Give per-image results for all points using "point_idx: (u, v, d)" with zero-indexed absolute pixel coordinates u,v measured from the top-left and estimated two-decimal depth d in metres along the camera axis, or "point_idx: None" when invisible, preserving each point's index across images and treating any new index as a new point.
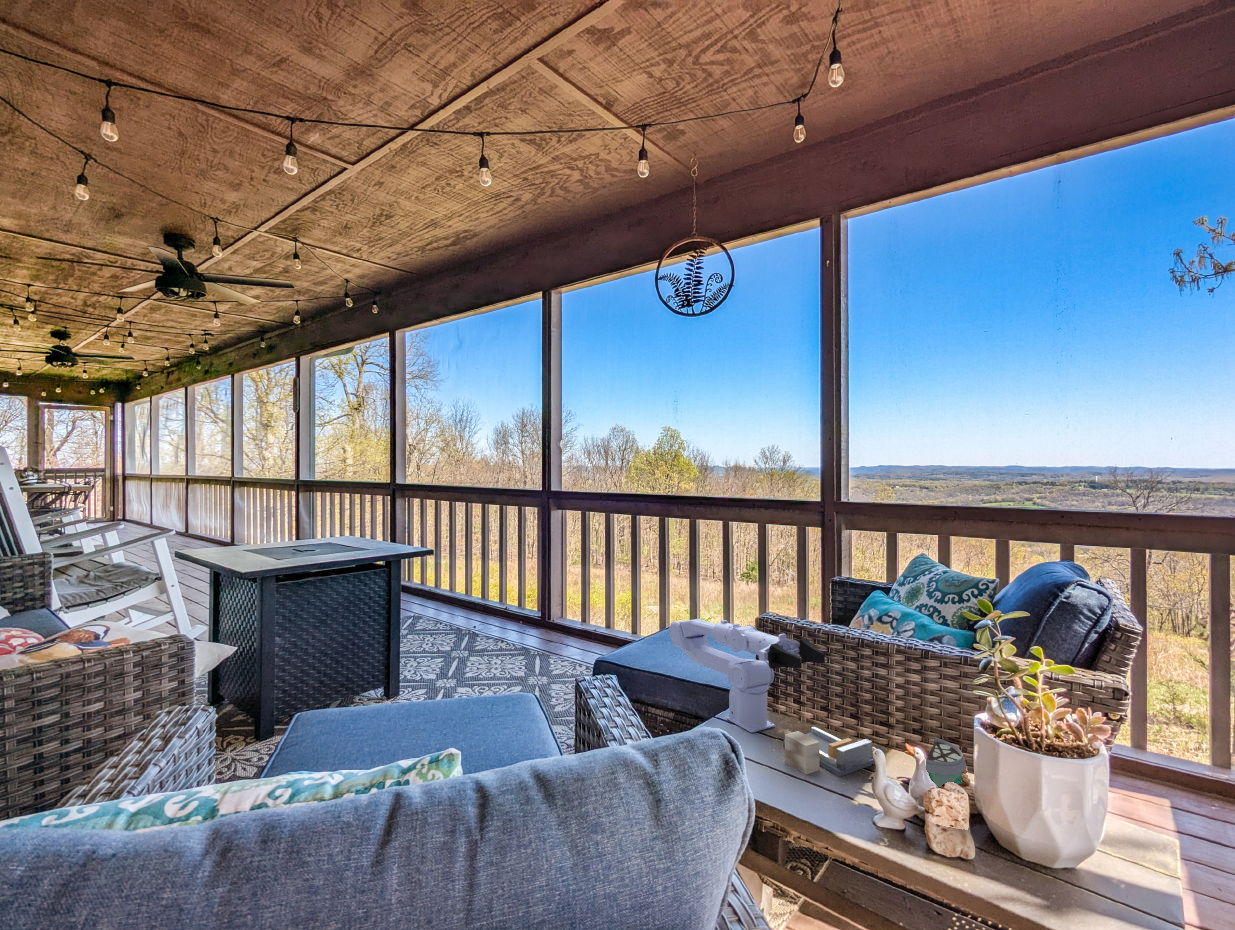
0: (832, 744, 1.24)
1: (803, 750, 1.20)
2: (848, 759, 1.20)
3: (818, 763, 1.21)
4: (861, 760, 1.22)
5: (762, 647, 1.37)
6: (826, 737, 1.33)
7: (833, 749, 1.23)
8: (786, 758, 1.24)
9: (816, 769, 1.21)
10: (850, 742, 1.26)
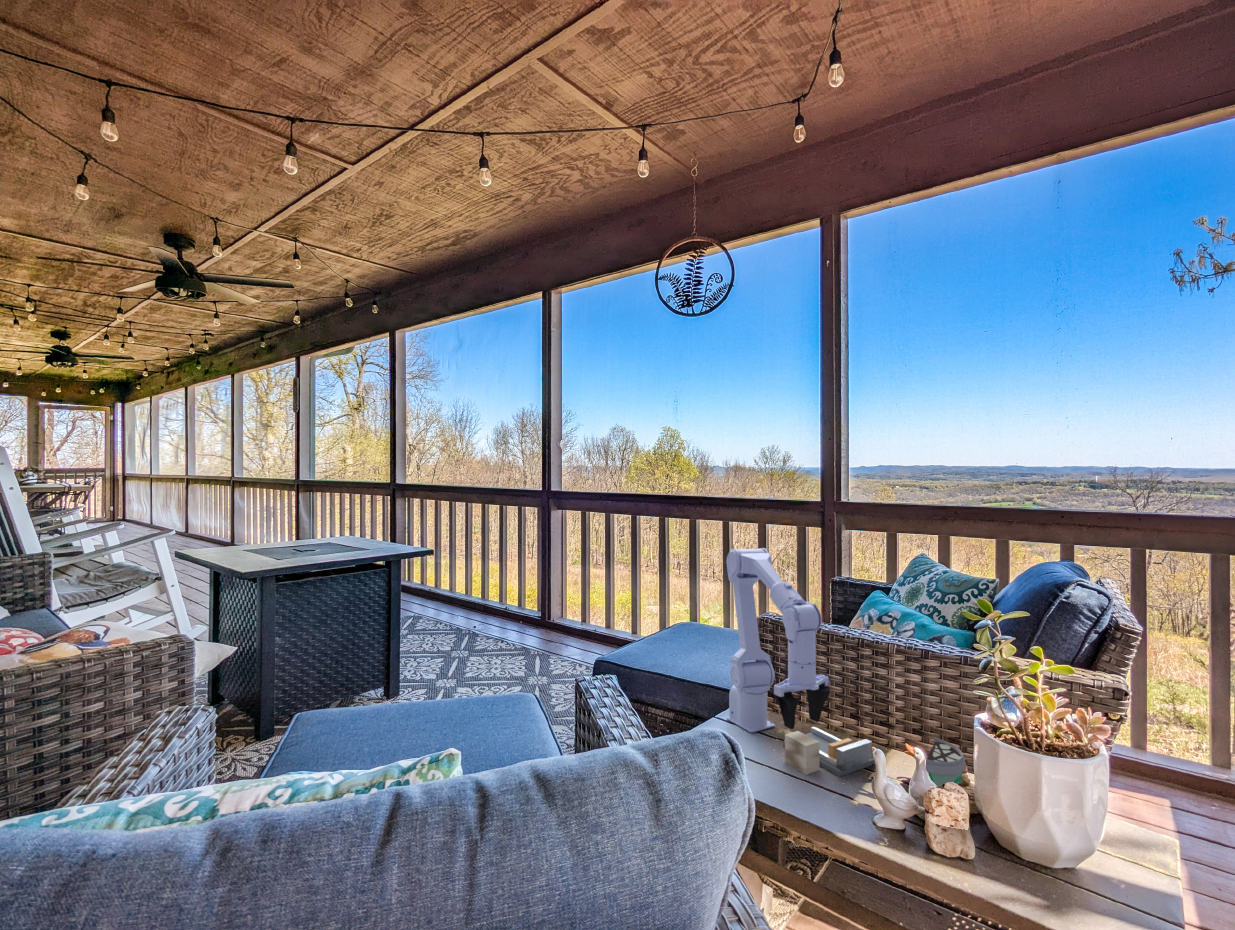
0: (832, 744, 1.24)
1: (803, 750, 1.20)
2: (848, 759, 1.20)
3: (818, 763, 1.21)
4: (861, 760, 1.22)
5: (793, 667, 1.22)
6: (826, 737, 1.33)
7: (833, 749, 1.23)
8: (786, 758, 1.24)
9: (816, 769, 1.21)
10: (850, 742, 1.26)
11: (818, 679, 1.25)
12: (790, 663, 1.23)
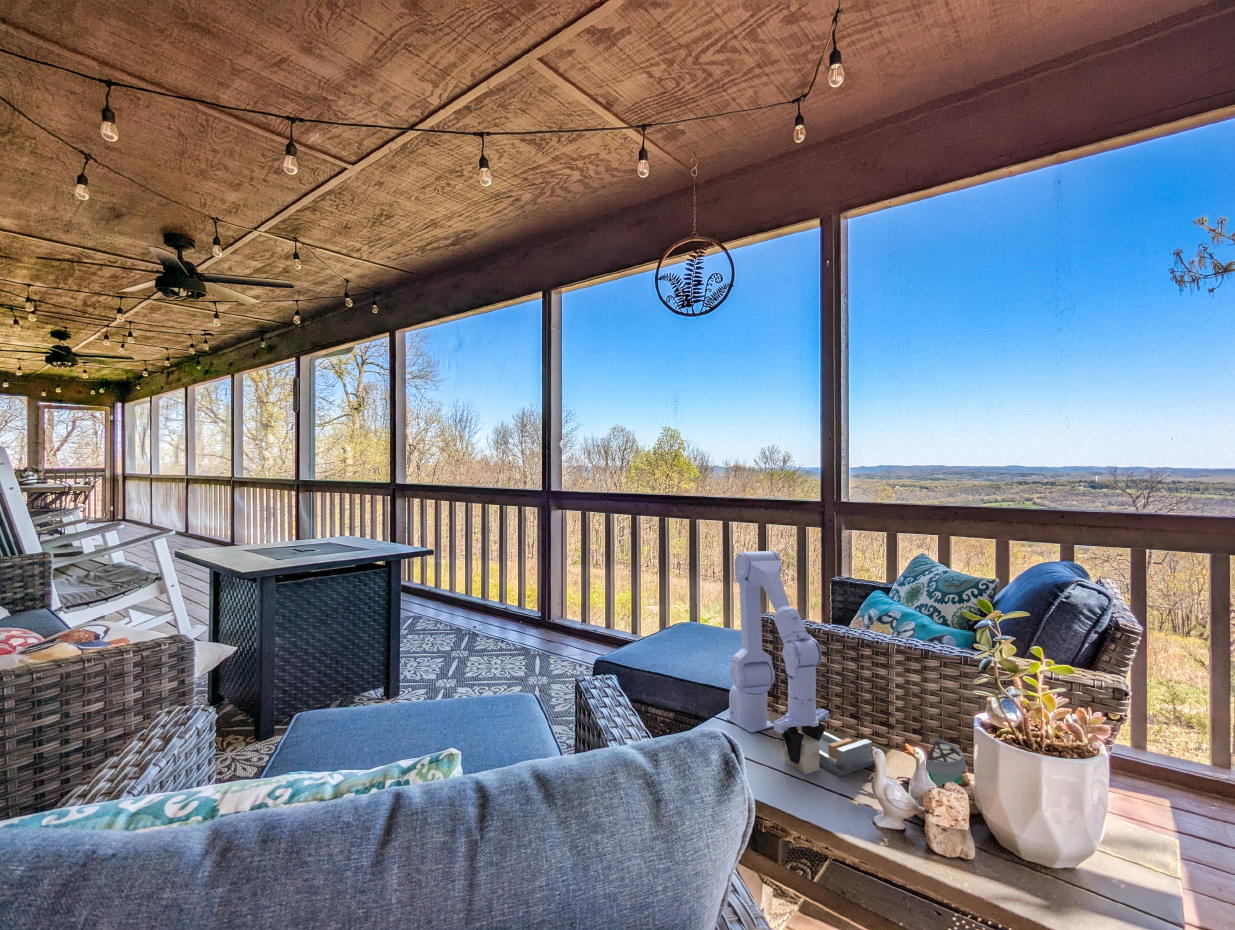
0: (832, 744, 1.24)
1: (803, 750, 1.20)
2: (848, 759, 1.20)
3: (818, 763, 1.21)
4: (861, 760, 1.22)
5: (793, 702, 1.22)
6: (826, 737, 1.33)
7: (833, 749, 1.23)
8: (786, 758, 1.24)
9: (816, 769, 1.21)
10: (850, 742, 1.26)
11: (818, 714, 1.25)
12: (790, 699, 1.23)
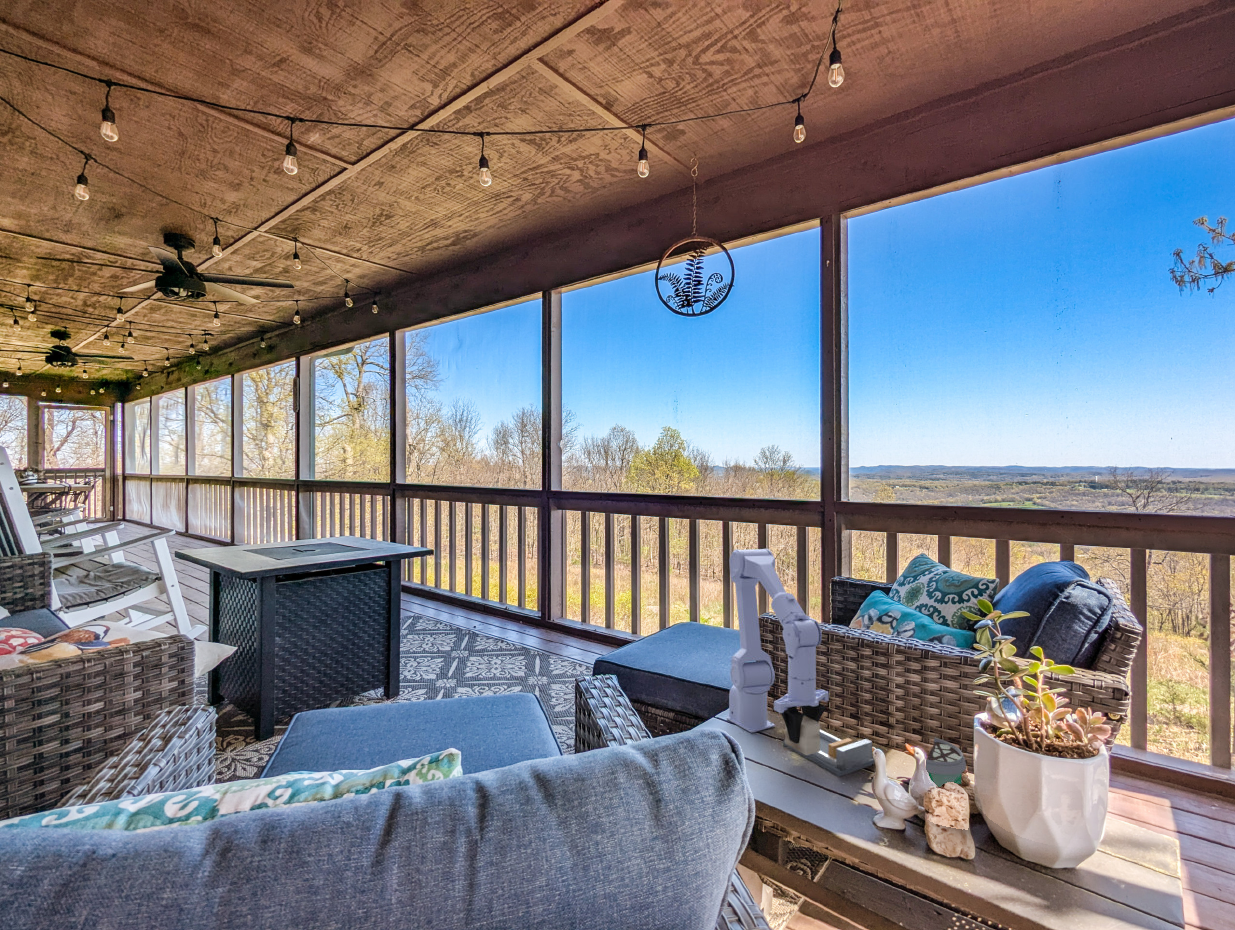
0: (832, 744, 1.24)
1: (803, 731, 1.20)
2: (848, 759, 1.20)
3: (818, 744, 1.21)
4: (861, 760, 1.22)
5: (793, 682, 1.22)
6: (826, 737, 1.33)
7: (833, 749, 1.23)
8: (786, 739, 1.24)
9: (816, 750, 1.21)
10: (850, 742, 1.26)
11: (818, 694, 1.25)
12: (790, 679, 1.23)
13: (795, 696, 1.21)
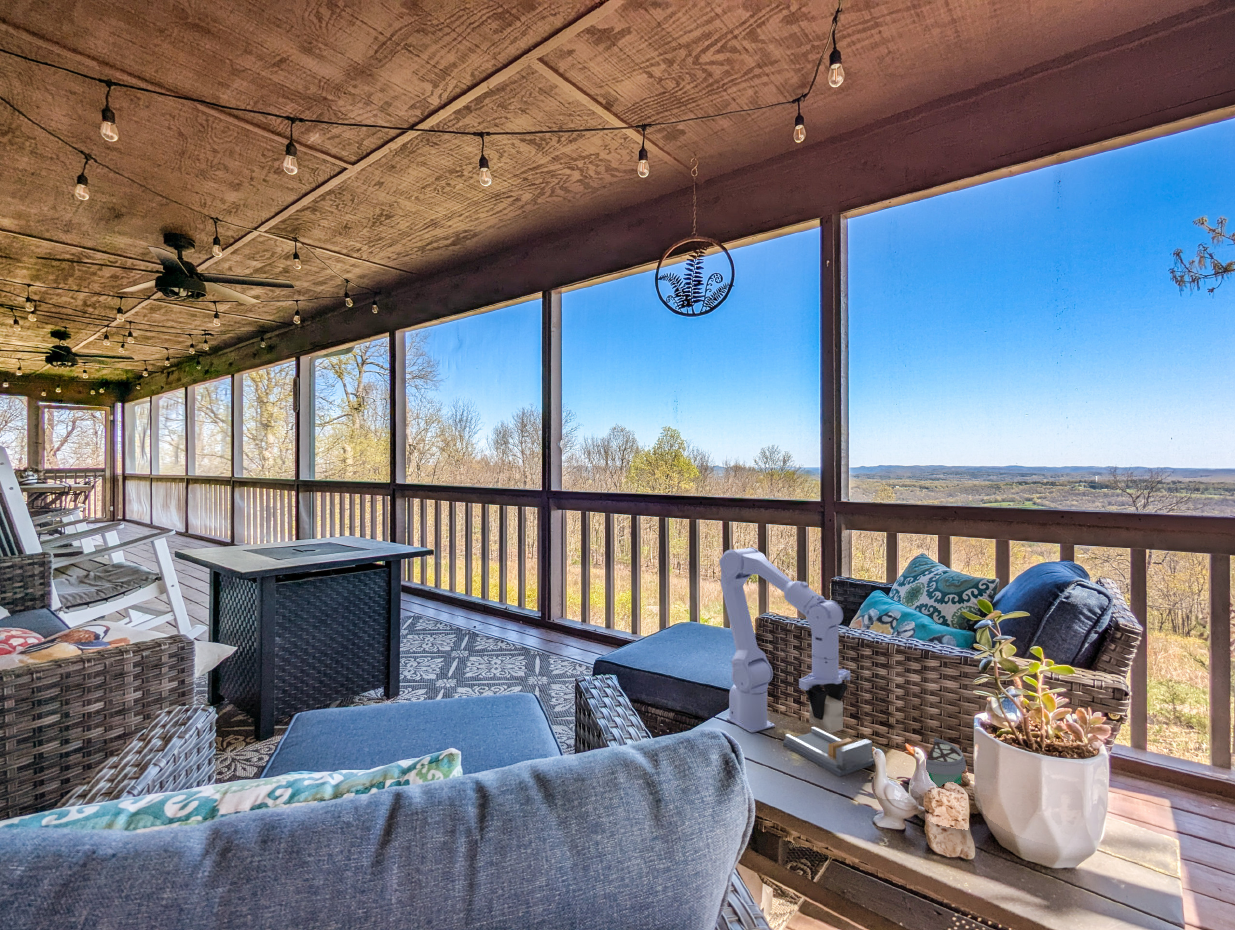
0: (832, 744, 1.24)
1: (828, 710, 1.26)
2: (848, 759, 1.20)
3: (842, 722, 1.27)
4: (861, 760, 1.22)
5: (817, 661, 1.28)
6: (826, 737, 1.33)
7: (833, 749, 1.23)
8: (810, 718, 1.30)
9: (840, 728, 1.27)
10: (850, 742, 1.26)
11: (840, 674, 1.31)
12: (814, 658, 1.28)
13: (819, 674, 1.27)
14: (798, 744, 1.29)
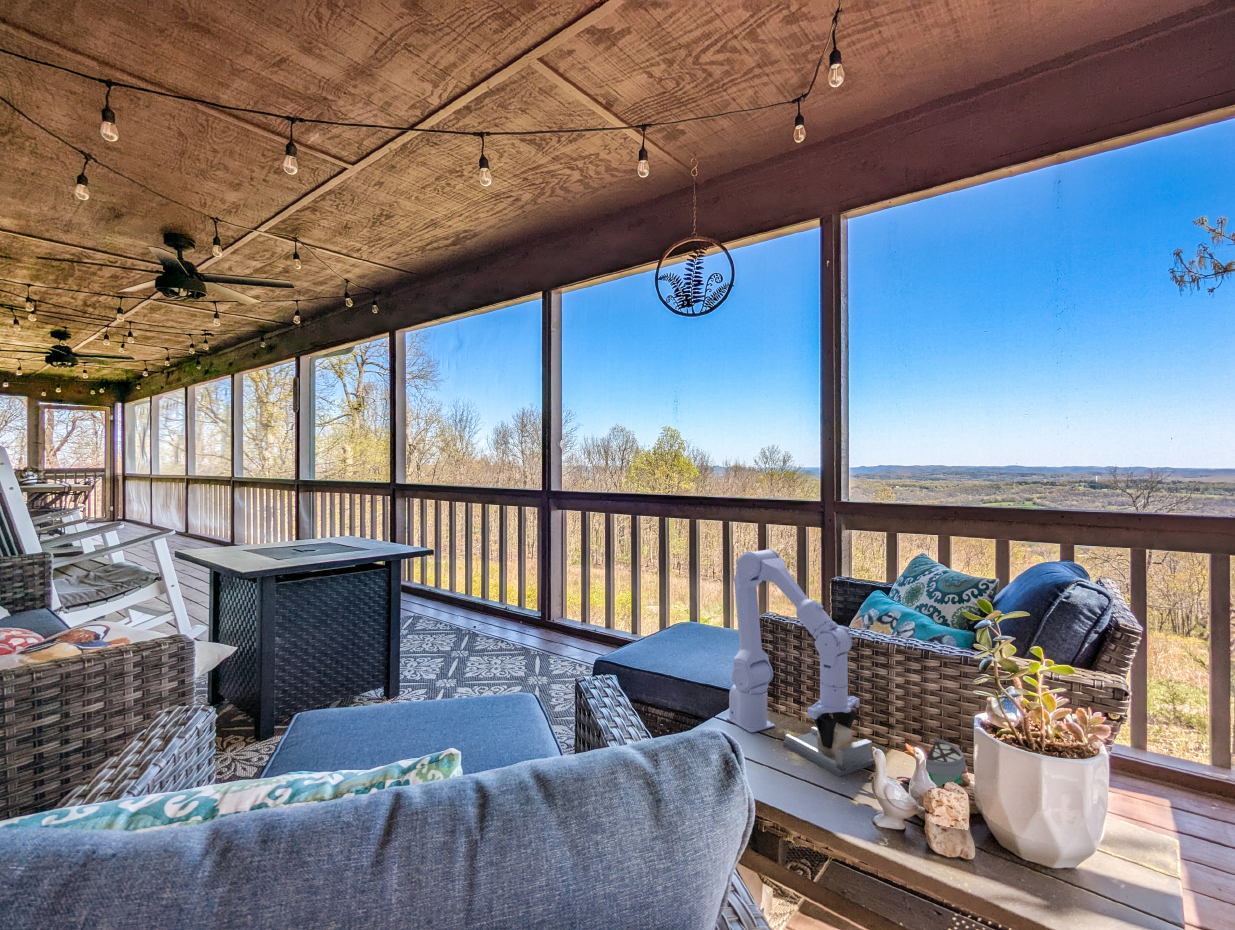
0: None
1: (836, 738, 1.24)
2: (848, 759, 1.20)
3: None
4: (861, 760, 1.22)
5: (826, 689, 1.25)
6: None
7: None
8: (819, 746, 1.28)
9: None
10: None
11: (849, 701, 1.29)
12: (822, 686, 1.26)
13: (828, 703, 1.25)
14: (798, 744, 1.29)
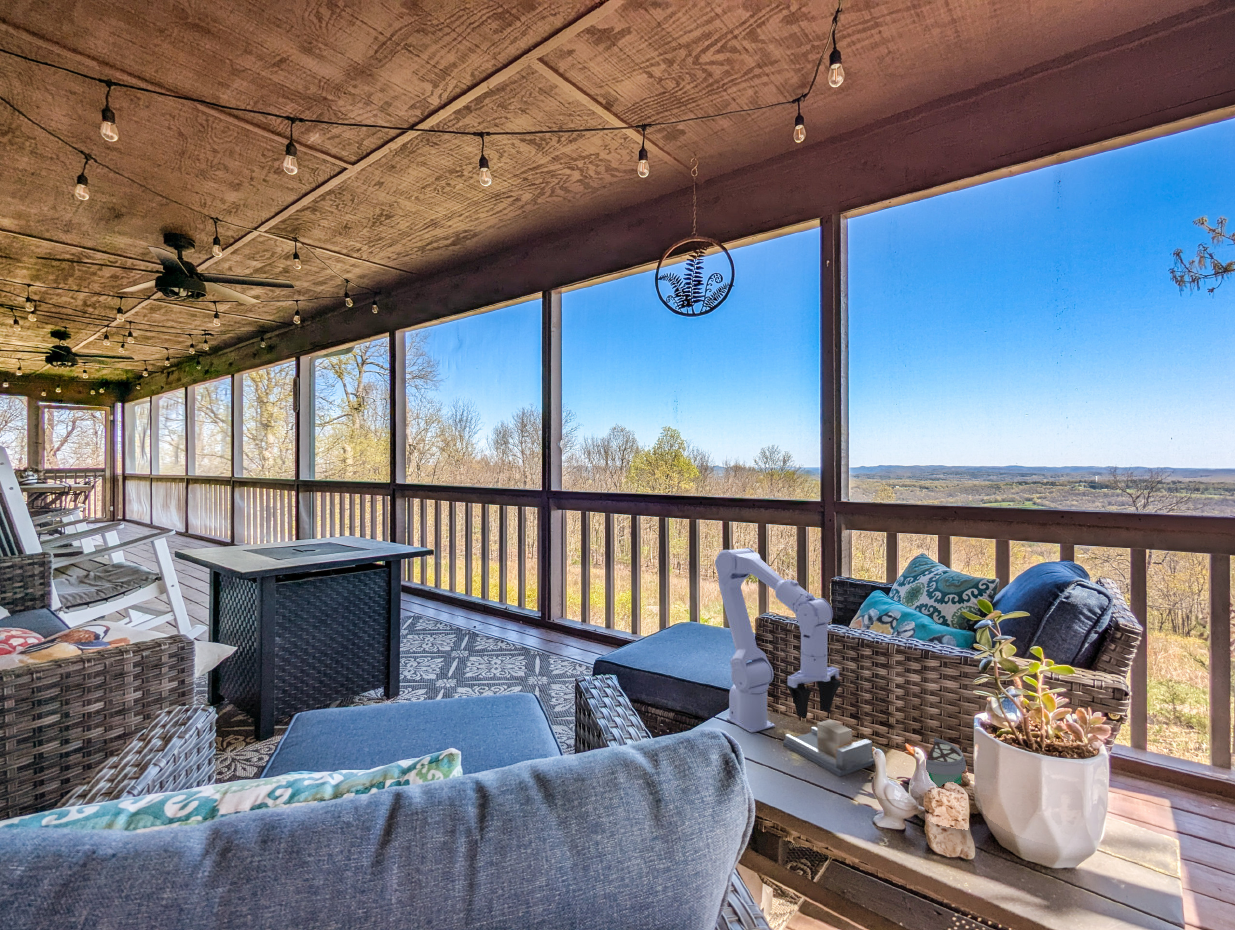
0: None
1: (836, 738, 1.24)
2: (848, 759, 1.20)
3: None
4: (861, 760, 1.22)
5: (806, 659, 1.28)
6: None
7: None
8: (819, 746, 1.28)
9: None
10: None
11: (829, 671, 1.31)
12: (803, 656, 1.29)
13: (808, 672, 1.27)
14: (798, 744, 1.29)
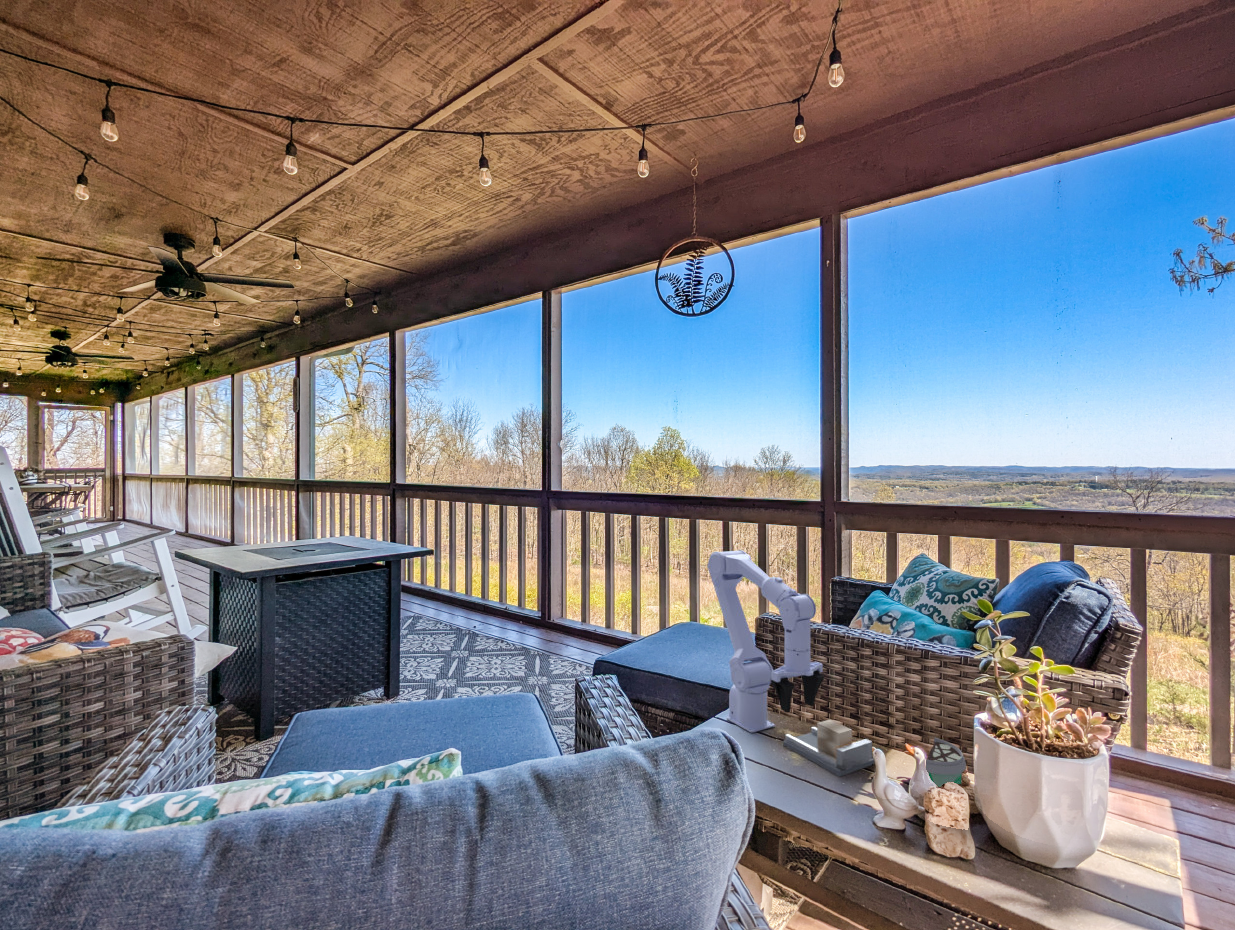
0: None
1: (836, 738, 1.24)
2: (848, 759, 1.20)
3: None
4: (861, 760, 1.22)
5: (789, 654, 1.30)
6: None
7: None
8: (819, 746, 1.28)
9: None
10: None
11: (813, 666, 1.33)
12: (786, 651, 1.30)
13: (791, 667, 1.29)
14: (798, 744, 1.29)
